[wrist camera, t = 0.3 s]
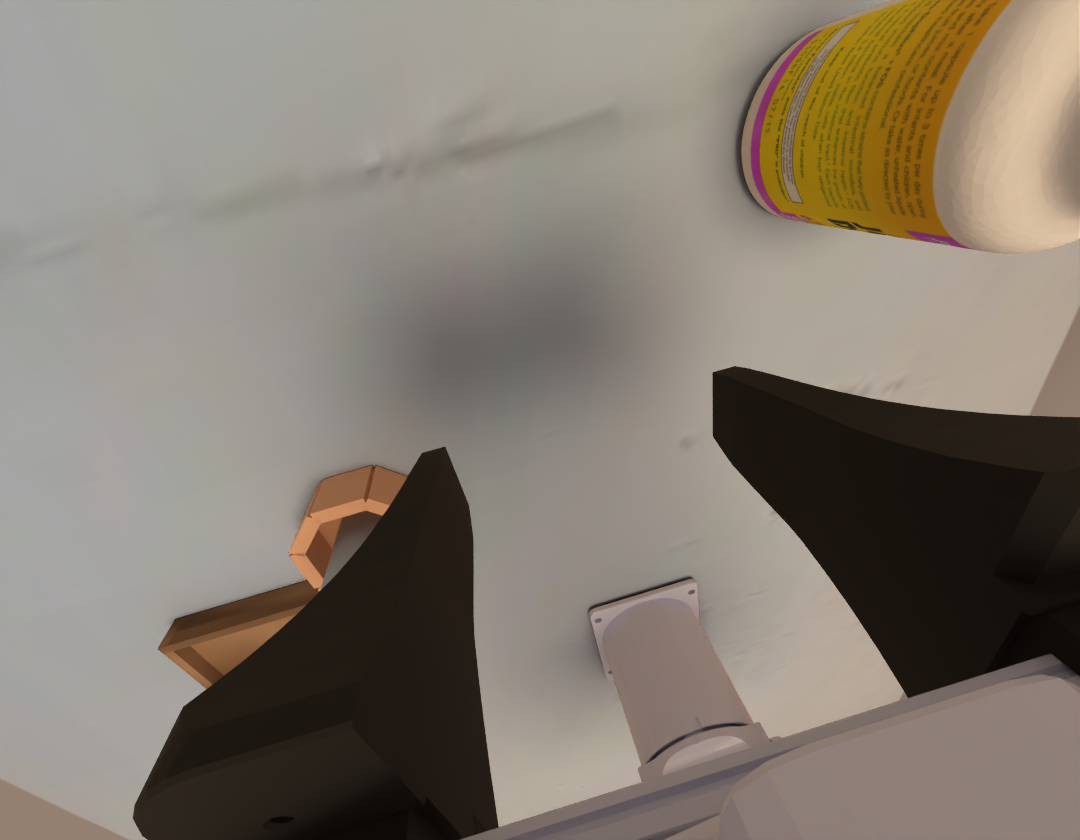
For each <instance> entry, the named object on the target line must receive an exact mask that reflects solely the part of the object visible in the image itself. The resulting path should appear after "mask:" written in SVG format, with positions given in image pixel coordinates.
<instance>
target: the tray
mask: <svg viewBox="0 0 1080 840" xmlns="http://www.w3.org/2000/svg"><path fill="white" fill-rule="evenodd" d="M318 588H319V587H318ZM318 588H315V589H314V588H313V586H312V585H311V584H310V583H309V581H308V580H307V581H304V582H300V583H297V584H293V585H290V586H287V587H283V588H280V589H277V590H273V591H270V592H266V593H263V594H260V595H256V596H253V597H249V598H246V599H243V600H239V601H236V602H232V603H229V604H226V605H222V606H219V607H215V608H212V609H209V610H205V611H202V612H199V613H195V614H192V615H188V616H185V617H182V618H178V619H175V621H174V622H173V624H172V626H171V627H170V629H169V631H168V632H167V634H166V636H165V637H164V639H163V641H162V642H161V644H160V646H159V647H158V650H160V651H161V652H162V653H163V654H165V655H166V656H167V657H168V658H169V659H171V660H172V661H173V662H174V663H176V664H177V665H178V666H179V667H180V668H182V669H183V670H184V671H185V672H187V673H188V674H189V675H190V676H191V677H193V678H194V679H195V680H196V681H198V682H199V683H200V684H201V685H202V686H204V687H205V688H206V689H208V688H209V687H210V686H211V685H213V684H214V683H215V682H217V681H218V680H219V679H220V678H222V677H223V676H224V675H226V674H227V673H228V672H229V671H231V670H232V669H233V668H235V667H236V666H237V665H238V664H240V663H241V662H242V661H244V660H245V659H246V658H247V657H248V656H250V655H251V654H252V653H253V652H254V651H256V650H257V649H258V648H259V647H260V646H261V645H263V644H264V643H265V642H266V641H267V640H268V639H270V638H271V637H272V636H273V635H274V634H275V633H277V632H278V631H279V630H280V629H281V628H282V627H283V626H284V625H285V624H287V623H288V622H289V621H290V620H291V619H292V618H293V617H294V616H295V615H296V614H297V613H299V612H300V611H301V610H302V609H303V608H304V607H305V606H306V605H307V604H308V603H309V602H310V601H311V600H312V599H313V598H314V597H315V596H316V595H317V594H318V592H319V591H318Z"/></svg>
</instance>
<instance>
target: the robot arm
mask: <svg viewBox="0 0 1080 840" xmlns="http://www.w3.org/2000/svg"><path fill="white" fill-rule="evenodd" d="M713 437H714V439H715V440H716V442H717V443H718V445H719V446H720V448H721V449H722V451H723V452H724V454H725V455H726V456H727V458H728V459H729V461H730V462H731V463H732V465H733V466H734V467H735V468H736V469H737V470H738V471H739V473H740V474H741V475H742V476H743V477H744V478H745V479H746V480H747V481H748V482H749V483H750V485H751V486H752V487H753V488H754V489H755V490H756V491H757V492H758V493H759V494H760V495H761V496H762V497H763V498H764V499H765V501H766V502H767V503H768V504H769V505H770V506H771V507H772V508H773V509H774V510H775V511H776V512H777V513H778V514H779V515H780V517H781V518H782V519H783V520H784V521H785V522H786V523H787V524H788V525H789V526H790V527H791V529H792V530H793V531H794V532H795V533H796V534H797V536H798V537H799V538H800V539H801V540H802V542H803V543H804V544H805V546H806V547H807V548H808V550H809V551H810V552H811V554H812V555H813V556H814V558H815V559H816V560H817V561H818V563H819V564H820V565H821V567H822V568H823V569H824V571H825V572H826V574H827V575H828V576H829V578H830V579H831V581H832V582H833V583H834V585H835V586H836V588H837V589H838V590H839V592H840V593H841V595H842V596H843V598H844V599H845V600H846V602H847V603H848V605H849V606H850V607H851V609H852V610H853V612H854V613H855V615H856V616H857V618H858V619H859V621H860V622H861V624H862V626H863V627H864V629H865V630H866V632H867V633H868V635H869V636H870V638H871V639H872V641H873V642H874V644H875V645H876V647H877V648H878V650H879V651H880V653H881V654H882V656H883V658H884V659H885V661H886V663H887V664H888V666H889V667H890V669H891V671H892V672H893V674H894V676H895V677H896V679H897V680H898V682H899V684H900V685H901V687H902V689H903V690H904V692H905V693H906V695H907V697H908V699H905V700H901V701H898V702H895V703H892V704H888V705H885V706H882V707H879V708H876V709H873V710H869V711H866V712H863V713H860V714H857V715H854V716H850V717H847V718H844V719H841V720H838V721H834V722H831V723H828V724H825V725H822V726H819V727H815V728H812V729H809V730H806V731H803V732H800V733H796V734H793V735H790V736H787V737H784V738H781V737H779V736H776V737H773V738H770V739H769V738H768V736H767V735H766V733H765V731H764V729H763V727H762V726H761V724H760V723H759V722H757V723H753V721H752V719H751V717H750V715H749V713H748V712H747V710H746V708H745V706H744V704H743V702H742V700H741V699H740V697H739V695H738V693H737V691H736V689H735V688H734V686H733V684H732V682H731V680H730V678H729V677H728V675H727V673H726V671H725V669H724V667H723V665H722V664H721V662H720V660H719V658H718V656H717V654H716V653H715V651H714V649H713V647H712V645H711V643H710V641H709V640H708V638H707V636H706V634H705V632H704V630H703V629H702V627H701V625H700V623H699V606H698V585H697V583H696V581H695V580H694V579H688V580H685V581H681V582H678V583H675V584H672V585H668V586H665V587H662V588H658V589H655V590H652V591H649V592H645V593H642V594H639V595H635V596H632V597H629V598H626V599H622V600H619V601H616V602H612V603H609V604H606V605H603V606H599V607H596V608H593V609H592V610H591V611H590V612H589V616H590V619H591V623H592V627H593V631H594V634H595V638H596V642H597V646H598V649H599V653H600V657H601V661H602V664H603V668H604V672H605V676H606V679H607V681H609V682H613V681H615V684H616V687H617V690H618V693H619V697H620V700H621V703H622V706H623V709H624V712H625V715H626V719H627V722H628V725H629V728H630V731H631V734H632V737H633V741H634V744H635V747H636V750H637V753H638V756H639V759H640V763H641V766H640V767H639V768H638V771H639V775H640V778H641V781H642V782H641V783H638V784H635V785H632V786H628V787H625V788H622V789H619V790H616V791H613V792H609V793H606V794H603V795H600V796H597V797H594V798H590V799H587V800H584V801H581V802H578V803H575V804H571V805H568V806H565V807H562V808H559V809H556V810H552V811H549V812H546V813H543V814H540V815H536V816H533V817H530V818H527V819H524V820H521V821H517V822H514V823H511V824H508V825H505V826H502V827H498V820H497V813H496V806H495V800H494V793H493V786H492V779H491V773H490V765H489V758H488V750H487V742H486V735H485V727H484V720H483V711H482V703H481V694H480V686H479V677H478V668H477V658H476V648H475V639H474V619H473V533H472V525H471V517H470V510H469V505H468V502H467V500H466V497H465V495H464V492H463V490H462V487H461V485H460V482H459V480H458V477H457V475H456V472H455V470H454V467H453V465H452V462H451V460H450V457H449V455H448V452H447V450H446V447H442V448H439V449H435V450H431V451H428V452H424V453H422V454H421V456H420V457H419V459H418V460H417V462H416V464H415V465H414V467H413V469H412V470H411V472H410V474H409V475H408V477H407V479H406V480H405V482H404V484H403V485H402V487H401V489H400V490H399V492H398V493H397V495H396V497H395V498H394V500H393V501H392V503H391V504H390V506H389V507H388V509H387V510H386V512H385V513H384V515H383V516H382V517H381V519H380V520H379V522H378V523H377V524H376V526H375V527H374V529H373V530H372V532H371V533H370V534H369V536H368V537H367V538H366V540H365V541H364V542H363V543H362V545H361V546H360V547H359V548H358V550H357V551H356V552H355V553H354V554H353V556H352V557H351V558H350V559H349V560H348V561H347V563H346V564H345V565H344V566H343V567H342V568H341V570H340V571H339V572H338V573H337V574H336V575H335V576H334V577H333V578H332V579H331V580H330V581H329V582H328V583H327V584H326V585H325V586H324V587H323V588H322V589H321V590H320V591H319V592H318V594H317V595H316V596H315V597H314V598H313V599H312V600H311V601H310V602H309V603H308V604H307V605H306V606H305V607H304V608H303V609H302V610H301V611H300V612H299V613H297V614H296V615H295V616H294V617H293V618H292V619H291V620H290V621H289V622H288V623H287V624H285V625H284V626H283V627H282V628H281V629H280V630H279V631H278V632H277V633H275V634H274V635H273V636H272V637H271V638H270V639H268V640H267V641H266V642H265V643H264V644H263V645H261V646H260V647H259V648H258V649H257V650H256V651H254V652H253V653H252V654H251V655H250V656H248V657H247V658H246V659H245V660H244V661H242V662H241V663H240V664H238V665H237V666H236V667H235V668H233V669H232V670H231V671H229V672H228V673H227V674H226V675H224V676H223V677H222V678H220V679H219V680H218V681H217V682H215V683H214V684H213V685H211V686H210V687H209V688H208V689H206V690H205V691H204V692H202V693H201V694H200V695H199V696H197V697H196V698H195V699H193V700H192V701H190V702H189V703H188V704H186V705H185V706H184V707H183V709H182V711H181V712H180V714H179V716H178V718H177V720H176V722H175V724H174V726H173V728H172V730H171V733H170V735H169V737H168V739H167V741H166V743H165V745H164V747H163V749H162V751H161V753H160V755H159V757H158V759H157V761H156V763H155V765H154V767H153V769H152V771H151V773H150V775H149V777H148V779H147V781H146V783H145V785H144V787H143V789H142V791H141V793H140V795H139V797H138V800H137V802H136V804H135V807H134V814H133V819H134V821H135V823H136V825H137V827H138V829H139V831H140V832H141V834H142V836H143V837H145V838H146V839H148V840H1080V417H1047V416H1021V415H1004V414H988V413H977V412H966V411H955V410H945V409H936V408H928V407H920V406H914V405H907V404H901V403H894V402H888V401H882V400H876V399H871V398H866V397H861V396H857V395H852V394H847V393H843V392H838V391H834V390H830V389H825V388H821V387H817V386H813V385H810V384H806V383H802V382H798V381H794V380H791V379H787V378H783V377H779V376H776V375H772V374H768V373H764V372H760V371H756V370H752V369H747V368H742V367H736V366H734V367H731V368H727V369H723V370H720V371H716V372H713Z"/></svg>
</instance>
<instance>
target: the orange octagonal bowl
mask: <svg viewBox="0 0 1080 840" xmlns="http://www.w3.org/2000/svg"><path fill="white" fill-rule="evenodd" d="M406 479H407V476H404V475H401V474H398V473H396V472H393V471H390V470H387V469H384V468H381V467H379V466H376V467H375V468H374V469H373V467H372V465H371V466H368V467H364V468H361V469H357V470H354V471H350V472H347V473H343V474H340V475H336V476H333V477H330V478H326V479H323V482H320V484H319V486H318V488H317V490H316V492H315V494H314V496H313V498H312V500H311V502H310V504H309V506H308V508H307V510H306V512H305V515H304V517H303V519H302V522H301V524H300V526H299V529H298V531H297V534H296V536H295V539H294V541H293V543H292V546H291V548H290V551H289V553H290V555H289V557H290V558H291V560H292V561H293V562H294V563H295V565H296V566H297V567H298V569H299V570H300V571H301V572H302V574H303V575H304V576H305V578H306V579H307V580H308V581H309V583H310V584H311V585H312V586H313V588H314V589H315V588H318V587H319V588H318V591H320V589H321V586H322V583H323V579H324V576H325V573H326V569H327V566H328V563H329V559H330V556H331V553H332V550H333V546H334V543H335V540H336V536H337V533H338V530H339V526H340V523H341V520H342V517H345V516H349V515H352V514H355V513H359V512H362V511H369V512H372V513H376V514H379V515H382V516H383V515H384V513H385V512H386V510H387V509H388V507H389V506H390V504H391V503H392V501H393V500H394V498H395V497H396V495H397V493H398V492H399V490H400V489H401V487H402V485H403V484H404V482H405V480H406Z"/></svg>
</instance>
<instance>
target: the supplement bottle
mask: <svg viewBox="0 0 1080 840" xmlns="http://www.w3.org/2000/svg"><path fill="white" fill-rule="evenodd" d="M741 153H742V165H743V171H744V176H745V180H746V182H747V185H748V187H749V190H750V191H751V193H752V195H753V197H754V198H755V199H756V201H757V202H758V203H759V204H760V205H761V206H762V207H763V208H764V209H766V210H767V211H769V212H770V213H772V214H774V215H776V216H778V217H781V218H785V219H790V220H795V221H800V222H807V223H812V224H818V225H825V226H831V227H837V228H843V229H850V230H857V231H863V232H868V233H874V234H881V235H889V236H894V237H900V238H906V239H913V240H919V241H925V242H932V243H938V244H944V245H950V246H955V247H961V248H967V249H973V250H979V251H986V252H993V253H1003V254H1018V253H1030V252H1036V251H1041V250H1046V249H1050V248H1054V247H1058V246H1061V245H1064V244H1067V243H1070V242H1073V241H1075V240H1078V239H1080V0H892V1H889V2H886V3H883V4H881V5H878V6H875V7H872V8H869V9H867V10H864V11H861V12H858V13H856V14H853V15H850V16H847V17H845V18H842V19H839V20H837V21H834V22H831V23H829V24H826V25H824V26H821V27H819V28H817V29H815V30H813V31H811V32H810V33H808V34H807V35H805V36H804V37H802V38H801V39H799V40H798V41H797V42H796V43H794V44H793V45H792V46H791V47H790V48H789V49H788V50H787V51H786V52H785V53H784V54H783V55H782V56H781V57H780V58H779V59H778V60H777V61H776V63H775V64H774V65H773V66H772V68H771V69H770V70H769V72H768V73H767V75H766V76H765V78H764V79H763V81H762V83H761V85H760V86H759V88H758V90H757V92H756V94H755V96H754V98H753V101H752V103H751V106H750V109H749V111H748V115H747V118H746V122H745V126H744V130H743V137H742V147H741Z"/></svg>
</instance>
